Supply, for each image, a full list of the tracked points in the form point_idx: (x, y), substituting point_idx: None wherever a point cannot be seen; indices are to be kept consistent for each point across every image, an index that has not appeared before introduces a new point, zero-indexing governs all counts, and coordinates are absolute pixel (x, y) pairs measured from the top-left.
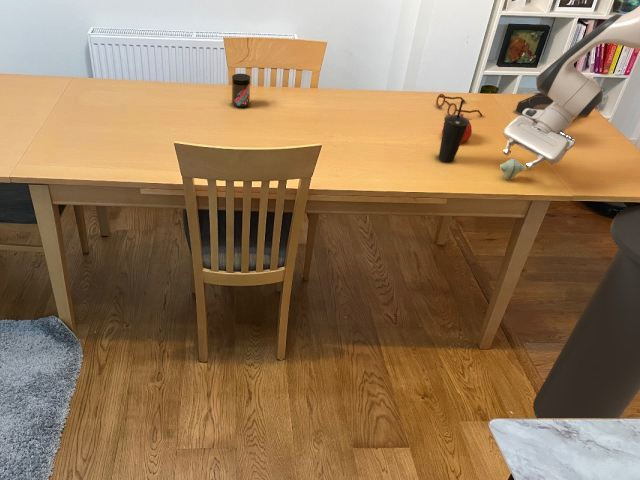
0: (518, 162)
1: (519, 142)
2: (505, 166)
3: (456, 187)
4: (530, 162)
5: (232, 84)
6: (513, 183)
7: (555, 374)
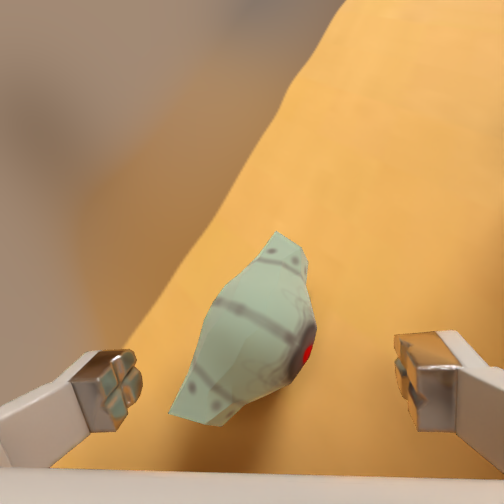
0: (220, 352)
1: (388, 479)
2: (258, 255)
3: (305, 104)
4: (88, 372)
5: None
6: None
7: None
